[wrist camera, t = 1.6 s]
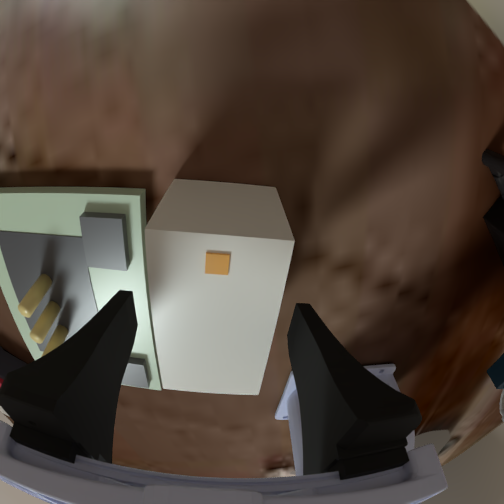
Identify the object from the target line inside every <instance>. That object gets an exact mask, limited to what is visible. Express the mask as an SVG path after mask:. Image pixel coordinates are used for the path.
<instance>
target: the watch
mask: <svg viewBox="0 0 504 504" xmlns="http://www.w3.org/2000/svg"><path fill="white" fill-rule="evenodd" d="M487 373H488V375H489V376H490V378H491V380H492V382H493V383H494V385H495V387H496V389H503V392H502V395H501V399H500V413H501V415H502V416H503V417H502V421H503V422H504V403H503V402H504V354H503V355H502V356H501V357H500V358H499V359H498V360H497V361H496V362H495V363H494V364H493V365H492V366H491V367H490V368H489V369H488V370H487Z"/></svg>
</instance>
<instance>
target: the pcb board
mask: <svg viewBox="0 0 504 504" xmlns="http://www.w3.org/2000/svg"><path fill="white" fill-rule="evenodd" d="M145 227H146V193H145V189H140V188H114V187H1V188H0V286H1V288H2V291H3V294H4V296H5V299H6V301H7V304H8V306H9V308H10V311H11V313H12V315H13V318H14V320H15V322H16V324H17V326H18V329H19V331H20V333H21V335H22V337H23V339H24V341H25V343H26V345H27V347H28V349H29V351H30V353H31V355H32V356H33V358H34V360H37V359H39V358H41V357H42V356H44V355H46V354H47V353H49V352H50V351H52V350H53V349H55V348H56V347H58V346H60V345H61V344H62V343H64V342H65V341H66V340H68V339H69V338H70V337H72V336H73V335H74V334H75V333H76V332H77V331H79V330H80V329H81V328H82V327H83V326H84V325H85V324H86V323H87V322H88V321H89V320H91V319H92V318H93V317H94V316H95V315H96V314H97V313H98V312H99V311H100V310H101V309H102V307H103V306H104V305H105V304H106V303H107V302H108V301H109V300H110V299H111V298H112V297H113V296H114V295H115V294H116V293H117V292H118V291H119V290H126V291H133V297H134V304H135V310H136V316H137V322H138V327H137V332H136V337H135V342H134V346H133V349H132V352H131V355H130V358H129V361H128V364H127V367H126V370H125V373H124V377H123V380H122V383H121V385H127V386H134V387H140V388H147V389H154V390H162V379H161V374H160V368H159V362H158V355H157V349H156V342H155V335H154V328H153V320H152V312H151V303H150V294H149V283H148V272H147V260H146V245H145Z"/></svg>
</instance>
